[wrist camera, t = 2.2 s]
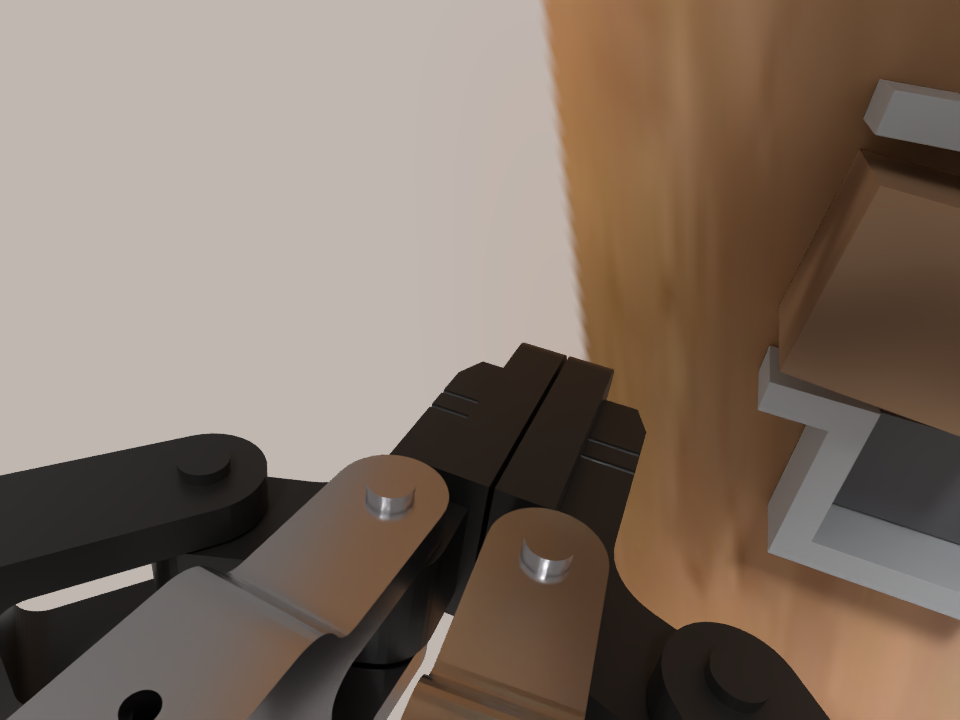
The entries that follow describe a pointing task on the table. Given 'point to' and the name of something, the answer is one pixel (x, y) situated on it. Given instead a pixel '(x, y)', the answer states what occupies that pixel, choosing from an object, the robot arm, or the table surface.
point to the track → (872, 444)
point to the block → (882, 293)
